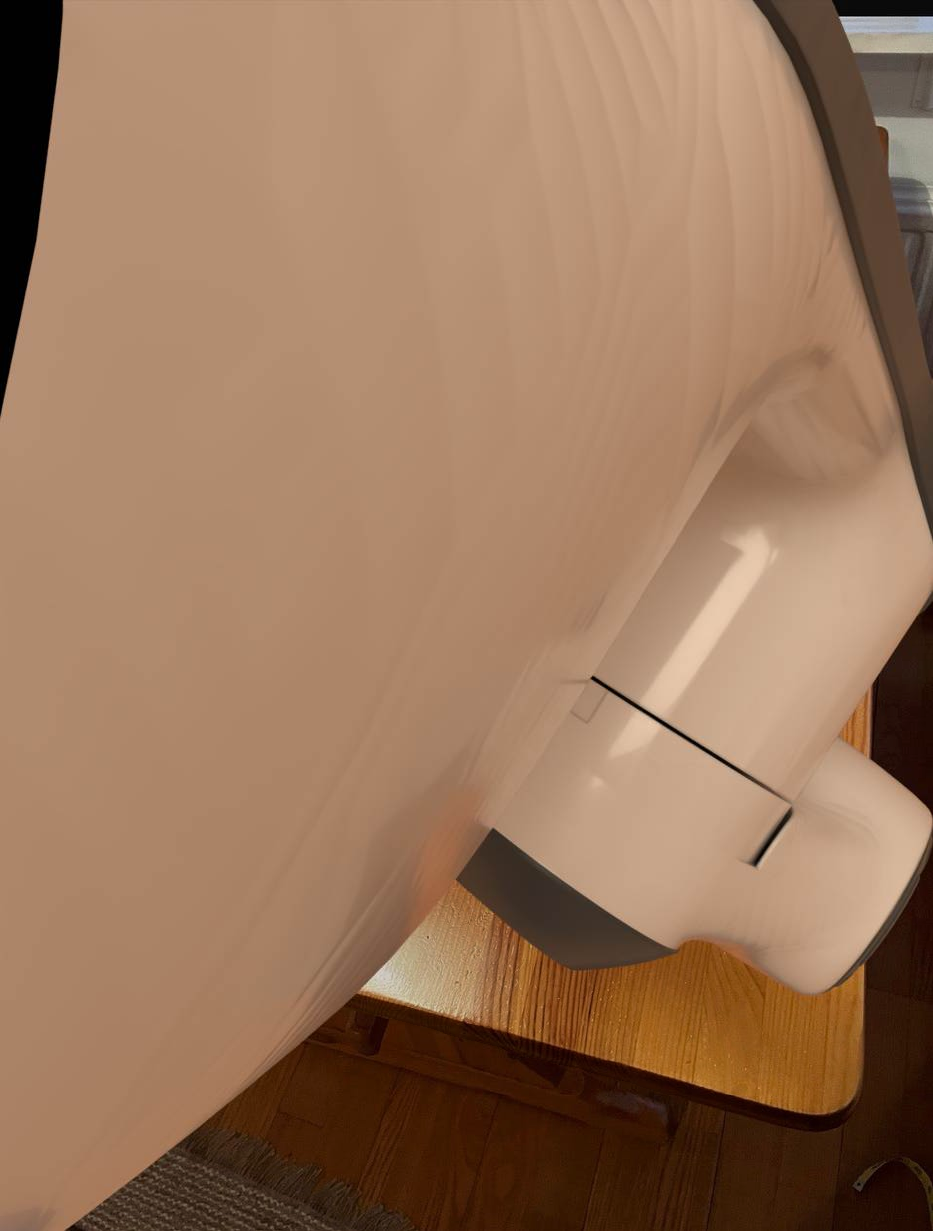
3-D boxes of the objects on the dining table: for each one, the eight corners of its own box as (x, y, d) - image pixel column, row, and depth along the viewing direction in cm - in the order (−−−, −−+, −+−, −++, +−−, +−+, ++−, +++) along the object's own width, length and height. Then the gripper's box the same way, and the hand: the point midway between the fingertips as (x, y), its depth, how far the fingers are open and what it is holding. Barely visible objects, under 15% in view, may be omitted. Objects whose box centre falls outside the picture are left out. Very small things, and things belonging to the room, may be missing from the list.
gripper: (674, 474, 40) (447, 363, 47) (319, 792, 32) (105, 601, 39) (664, 573, 45) (459, 459, 52) (354, 873, 36) (157, 690, 43)
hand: (305, 521), depth 45 cm, fingers open, 8 cm apart
